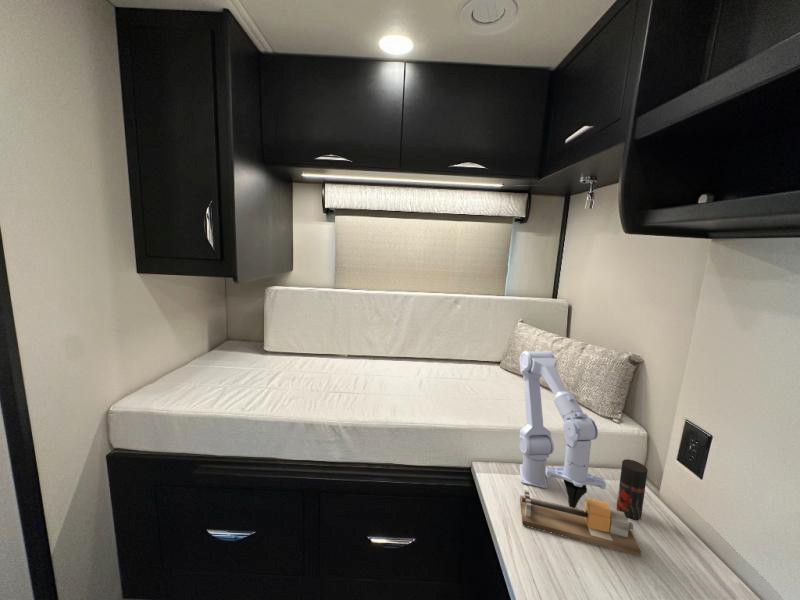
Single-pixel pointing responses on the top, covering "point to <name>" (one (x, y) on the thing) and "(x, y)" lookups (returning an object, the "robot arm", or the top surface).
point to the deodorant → (632, 489)
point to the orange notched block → (597, 515)
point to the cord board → (578, 524)
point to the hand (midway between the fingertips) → (571, 505)
